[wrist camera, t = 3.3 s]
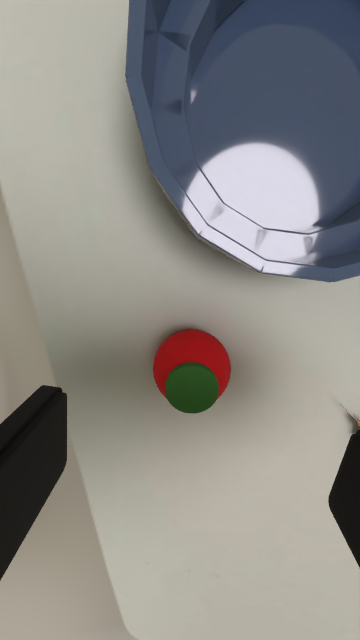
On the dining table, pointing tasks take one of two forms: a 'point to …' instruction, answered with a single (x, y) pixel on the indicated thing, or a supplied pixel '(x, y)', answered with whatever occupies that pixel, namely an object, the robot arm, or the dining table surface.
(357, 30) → the bowl
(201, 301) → the dining table surface
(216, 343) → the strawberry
